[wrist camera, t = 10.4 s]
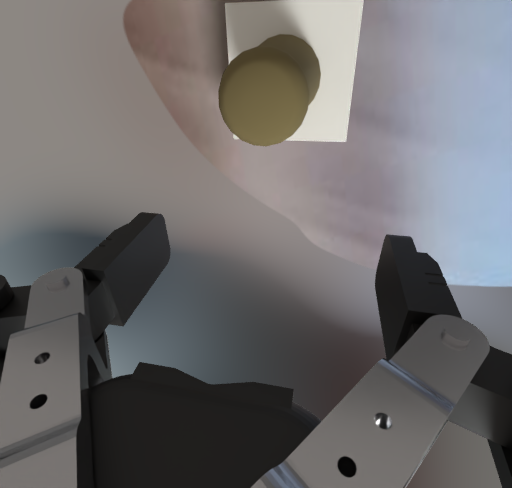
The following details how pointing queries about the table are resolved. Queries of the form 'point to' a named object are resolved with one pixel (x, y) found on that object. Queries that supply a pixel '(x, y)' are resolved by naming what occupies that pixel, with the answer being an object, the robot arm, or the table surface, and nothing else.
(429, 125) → the table surface
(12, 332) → the robot arm
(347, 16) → the podium
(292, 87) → the cork
